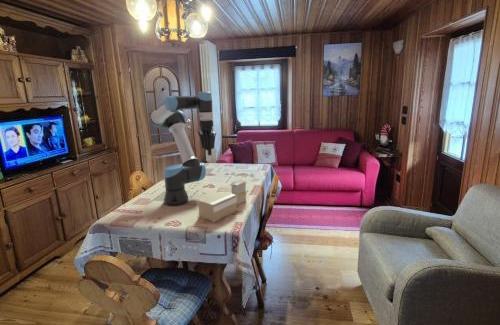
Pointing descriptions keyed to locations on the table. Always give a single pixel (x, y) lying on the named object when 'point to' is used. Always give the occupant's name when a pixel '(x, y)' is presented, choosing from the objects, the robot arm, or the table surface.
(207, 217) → the carton
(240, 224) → the table surface
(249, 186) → the table surface
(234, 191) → the supplement box
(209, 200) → the lid
